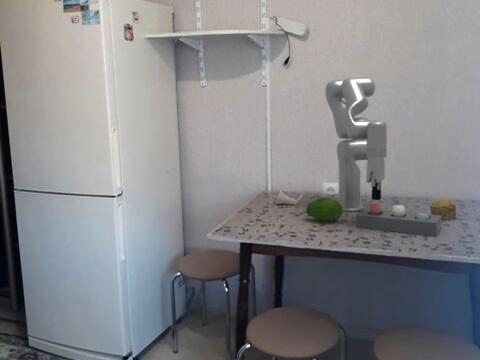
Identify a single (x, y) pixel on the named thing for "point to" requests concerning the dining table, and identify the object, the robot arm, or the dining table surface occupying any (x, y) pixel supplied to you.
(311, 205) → the fruit
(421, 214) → the light blue rounded cylinder
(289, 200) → the toilet paper hanger
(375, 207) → the brown egg
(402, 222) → the grey rectangular block
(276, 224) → the dining table surface
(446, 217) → the rock
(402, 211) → the white rounded oval piece
